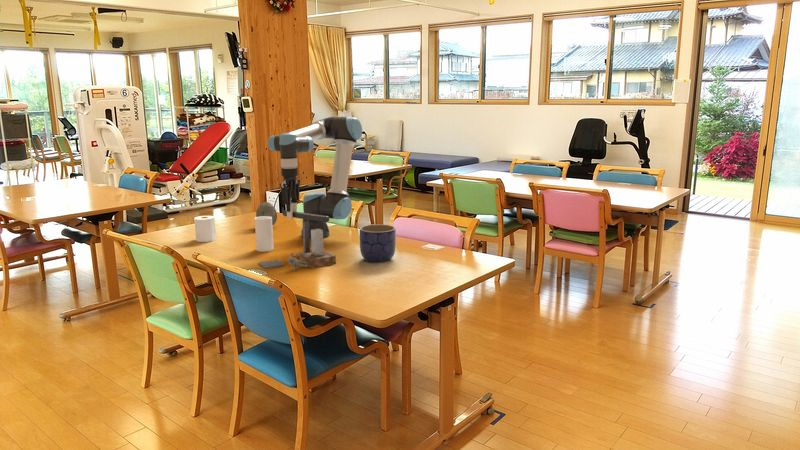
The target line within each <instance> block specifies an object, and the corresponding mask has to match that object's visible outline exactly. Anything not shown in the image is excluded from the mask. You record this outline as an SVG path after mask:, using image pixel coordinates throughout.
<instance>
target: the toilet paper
mask: <svg viewBox="0 0 800 450" xmlns="http://www.w3.org/2000/svg"><path fill="white" fill-rule="evenodd" d="M193 220H194V230H195V231H194V232H195V242H198V243H209V242H214V241H216V240H217V235H216V234H217V233H216V232H217V231H216V219H215V216H214V215H199V216H195V217H194V219H193Z"/></svg>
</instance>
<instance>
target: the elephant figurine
mask: <svg viewBox="0 0 800 450" xmlns="http://www.w3.org/2000/svg"><path fill="white" fill-rule="evenodd" d="M293 255H294V254H293V253H292V252H291V253H290V256H288V259H287V263H288V264H289V265H290V266H291V267H292V271H293V272H294V273H295V270H296V268H297V267H301V268H307V267H308V266H307V265H306V262H302V261H300V260H299V259H296V256H294V257H293Z"/></svg>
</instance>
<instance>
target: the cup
mask: <svg viewBox="0 0 800 450" xmlns="http://www.w3.org/2000/svg"><path fill="white" fill-rule="evenodd" d="M254 226H255V227H254V229H255V244H256V246H255V247H256V251H257V252H260V253H261V252H263V253H264V252H265V253H266V252H272V251H273V250H275V249H274V231H273V226H274V225H273V226H272V217H271V216H259V217H256V216H255V217H254Z"/></svg>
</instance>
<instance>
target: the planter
mask: <svg viewBox="0 0 800 450" xmlns="http://www.w3.org/2000/svg"><path fill="white" fill-rule="evenodd" d="M358 236H359V250H360V255H361V256H362V258H363V259H364V260H366V261H367V262H371V263H386V262H388V261H390V260H391V259H392V258H393V257H394V255H395V253H396V249H397V248H396V247H397V241H396V240H397V231H396V227H395V226H394V225H390V224H382V223H380V224H379V223H378V224H377V223H375V224H373V223H372V224H367V225H366V224H365V225H362V226H360V227H359V235H358Z"/></svg>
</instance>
